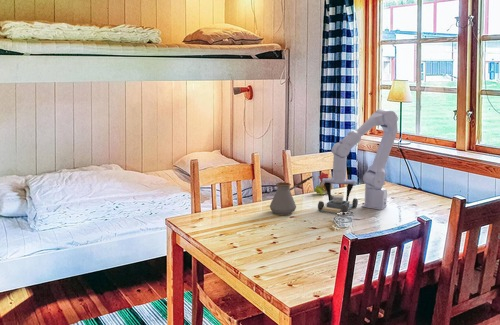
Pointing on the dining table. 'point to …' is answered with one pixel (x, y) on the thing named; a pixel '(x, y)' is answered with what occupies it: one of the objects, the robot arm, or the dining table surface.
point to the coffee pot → (284, 198)
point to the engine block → (338, 199)
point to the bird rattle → (321, 186)
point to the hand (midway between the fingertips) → (338, 199)
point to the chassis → (336, 206)
